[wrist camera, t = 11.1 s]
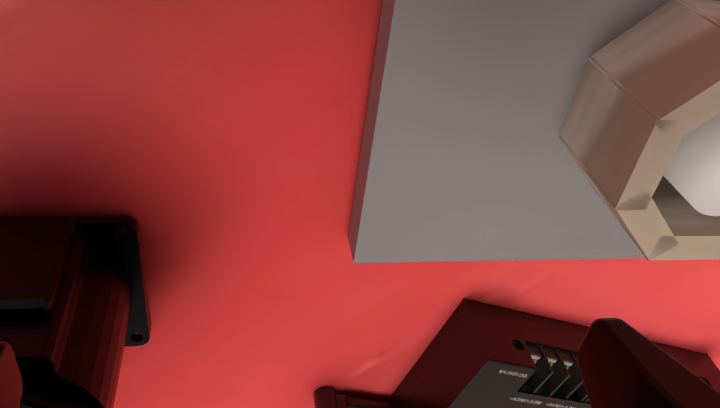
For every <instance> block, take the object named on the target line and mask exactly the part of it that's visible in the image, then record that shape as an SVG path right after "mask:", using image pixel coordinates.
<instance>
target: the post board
mask: <svg viewBox="0 0 720 408" xmlns="http://www.w3.org/2000/svg"><path fill="white" fill-rule="evenodd" d="M668 1H670V0H382V7H381V14H380V21H379V28H378V35H377V41H376V48H375V55H374V62H373V69H372V76H371V83H370V89H369V96H368V103H367V110H366V117H365V124H364V131H363V137H362V144H361V151H360V158H359V165H358V172H357V179H356V185H355V192H354V199H353V206H352V213H351V220H350V226H349V233H348V239H349V244H350V249H351V253H352V258H353V262H354V263H379V262H438V261H497V260H556V259H616V258H646V257H645V256H644V255H643V253H642V252H641V251H640V250H639V248H638V247H637V246H636V244H635V243H634V242H633V240H632V239H631V238H630V236H629V235H628V234H627V233H626V231H625V230H624V229H623V227H622V226H621V225H620V223H619V222H618V221H617V220H616V218H615V217H614V216H613V214H612V213H611V212H610V210H609V209H608V208H607V206H606V205H605V204H604V203H603V201H602V200H601V199H600V197H599V196H598V195H597V193H596V192H595V191H594V190H593V188H592V187H591V184H590V182H589V181H588V179H587V178H586V176H585V175H584V173H583V172H582V170H581V169H580V167H579V166H578V164H577V163H576V161H575V160H574V158H573V157H572V155H571V154H570V152H569V151H568V149H567V148H566V147H565V145H564V144H563V143H562V142H561V140H560V139H559V135H560V133H561V131H562V128H563V125H564V123H565V120H566V117H567V115H568V112H569V109H570V107H571V104H572V101H573V99H574V96H575V93H576V91H577V88H578V85H579V83H580V80H581V77H582V74H583V72H584V69H585V66H586V64H587V61H588V57H589V56H591V55H593V54H594V53H596V52H597V51H598V50H600V49H601V48H603V47H604V46H606V45H607V44H608V43H610V42H611V41H613V40H614V39H616V38H617V37H618V36H620V35H621V34H623V33H624V32H626V31H627V30H628V29H630V28H631V27H633V26H634V25H636V24H637V23H638V22H640V21H641V20H643V19H644V18H645V17H647V16H648V15H650V14H651V13H653V12H654V11H655V10H657V9H658V8H660V7H661V6H663V5H664V4H665V3H667V2H668ZM715 1H720V0H715ZM663 176H664V177H665V178H666V179H667V180H668V181H669V182H670V183H671V184H672V185H673V187H674V188H675V189H676V190H677V191H678V192H679V193H680V194H681V195H682V196H683V197H684V198H685V199H686V200H687V201H688V202H689V203H690V205H691V206H692V207H693V208H694V209H695V210H697V211H698V212H700V213H702V214H705V215H709V216H720V113H719V114H717V115H716V116H714V117H713V118H711V119H710V120H708V121H706V122H705V123H703V124H702V125H700V126H698V127H697V128H695V129H694V130H692V131H691V132H689V133H687V134H686V135H684V136H683V138H682V139H681V141H680V143H679V145H678V147H677V149H676V151H675V153H674V155H673V157H672V159H671V161H670V163H669V165H668V167H667V169H666V171H665V173H664V175H663Z"/></svg>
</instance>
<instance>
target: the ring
mask: <svg viewBox="0 0 720 408" xmlns="http://www.w3.org/2000/svg"><path fill="white" fill-rule="evenodd" d="M719 113H720V1H715V0H670V1H668V2H667V3H665V4H664V5H663V6H661V7H660V8H658V9H657V10H655V11H654V12H653V13H651V14H650V15H648V16H647V17H645V18H644V19H643V20H641V21H640V22H638V23H637V24H636V25H634V26H633V27H631V28H630V29H628V30H627V31H626V32H624V33H623V34H621V35H620V36H618V37H617V38H616V39H614V40H613V41H611V42H610V43H608V44H607V45H606V46H604V47H603V48H601V49H600V50H598V51H597V52H596V53H594V54H593V55H591V56H589V57H588V61H587V64H586V66H585V69H584V72H583V74H582V77H581V80H580V83H579V85H578V88H577V91H576V93H575V96H574V99H573V101H572V104H571V107H570V109H569V112H568V115H567V117H566V120H565V123H564V125H563V128H562V131H561V133H560V135H559V139H560V140H561V142H562V143H563V144H564V145H565V147H566V148H567V149H568V151H569V152H570V154H571V155H572V157H573V158H574V160H575V161H576V163H577V164H578V166H579V167H580V169H581V170H582V172H583V173H584V175H585V176H586V178H587V179H588V181H589V182H590V184H591V187H592V188H593V190H594V191H595V192H596V193H597V195H598V196H599V197H600V199H601V200H602V201H603V203H604V204H605V205H606V206H607V208H608V209H609V210H610V212H611V213H612V214H613V216H614V217H615V218H616V220H617V221H618V222H619V223H620V225H621V226H622V227H623V229H624V230H625V231H626V233H627V234H628V235H629V236H630V238H631V239H632V240H633V242H634V243H635V244H636V246H637V247H638V248H639V250H640V251H641V252H642V253H643V255H644V256H645V257H646V259H647V260H649V261H651V260H709V259H720V216H709V215H705V214H702V213H700V212H698V211H697V210H695V209H694V208H693V207H692V206H691V205H690V203H689V202H688V201H687V200H686V199H685V198H684V197H683V196H682V195H681V194H680V193H679V192H678V191H677V190H676V189H675V188H674V187H673V185H672V184H671V183H670V182H669V181H668V180H667V179H666V178H665V177H664V176H663V175H664V173H665V171H666V169H667V167H668V165H669V163H670V161H671V159H672V157H673V155H674V153H675V151H676V149H677V147H678V145H679V143H680V141H681V139H682V138H683V136H684V135H686V134H687V133H689V132H691V131H692V130H694V129H695V128H697V127H698V126H700V125H702V124H703V123H705V122H706V121H708V120H710V119H711V118H713V117H714V116H716V115H717V114H719Z"/></svg>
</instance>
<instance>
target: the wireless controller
mask: <svg viewBox="0 0 720 408" xmlns="http://www.w3.org/2000/svg"><path fill="white" fill-rule="evenodd" d="M457 308H458V309H456V310H455V311H454V312H453V314H452V315H451V316H450V318H449V319H448V320H447V322H446V323H445V324H444V326H443V327H442V328H441V330H440V331H439V332H438V334H437V335H436V336H435V338H434V339H433V340H432V342H431V343H430V344H429V346H428V347H427V348H426V350H425V351H424V353H423V354H422V355H421V357H420V358H419V359H418V361H417V362H416V363H415V365H414V366H413V367H412V369H411V370H410V371H409V373H408V374H407V375H406V377H405V378H404V379H403V381H402V382H401V383H400V385H399V386H398V387H397V389H396V390H395V391H394V393H393V394H392V395H391V399H390V401H389V402H384V401H378V400H371V399H364V398H357V397H350V396H346V395H341V394H335V391H334V388H333V387H330V386H323V387H320V388H318V389H316V390H315V391H314V394H313V395H314V404H315V408H591V405H590V402H589V399H588V395H587V392H586V389H585V385H584V382H583V378H582V375H581V372H580V368H579V365H578V359H577V358H578V350H579V347H580V345H581V343H582V341H583V339H584V337H585V335H586V334H587V332H588V330H589V328H590V327H586V326H582V325H578V324H573V323H569V322H565V321H560V320H556V319H552V318H547V317H543V316H539V315H534V314H530V313H526V312H521V311H517V310H512V309H508V308H504V307H499V306H495V305H491V304H486V303H482V302H478V301H473V300H469V299H465V298H464V299H463V300H462V302H461V303H460V304H459V306H458V307H457ZM652 343H654V344H655V345H656V346H658V347H659V348H660V349H662V350H663V351H664V352H666V353H667V354H668V355H670V356H671V357H672V358H674V359H675V360H676V361H678V362H679V363H680V364H682V365H683V366H684V367H686V368H687V369H688V370H690V371H691V372H692V373H694V374H695V375H696V376H698V377H699V378H700V379H702V380H703V381H704V382H706V383H707V384H708V385H710V386H711V387H712V388H714V389H715V390H716V391H718V392H719V393H720V371H719V369H718V368H717V367H716V365H715V364H714V363H713V361H712V360H711V358H710V357H709V356H708V354H704V353H699V352H695V351H691V350H686V349H682V348H677V347H673V346H669V345H664V344H660V343H656V342H652Z"/></svg>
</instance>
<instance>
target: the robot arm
mask: <svg viewBox="0 0 720 408" xmlns="http://www.w3.org/2000/svg"><path fill="white" fill-rule="evenodd" d="M119 228H124V229H127V230H128V231H127V232H122V231H119V230H118V229H119ZM150 331H151V328H150V319H149V311H148V302H147V294H146V285H145V277H144V268H143V260H142V251H141V242H140V234H139V226H138V223H137V222H136V221H135V220H134V219H133V218H131V217H129V216H0V408H113V407H114V401H115V396H116V390H117V384H118V379H119V373H120V368H121V362H122V356H123V351H124V346H140V345H144V344H146V343H147V342H148V341H149V338H150ZM135 333H137V334H135ZM577 359H578V365H579V368H580V372H581V375H582V378H583V382H584V385H585V389H586V392H587V395H588V399H589V402H590V405H591V408H720V393H719V392H718V391H716V390H715V389H714V388H712V387H711V386H710V385H708V384H707V383H706V382H704V381H703V380H702V379H700V378H699V377H698V376H696V375H695V374H694V373H692V372H691V371H690V370H688V369H687V368H686V367H684V366H683V365H682V364H680V363H679V362H678V361H676V360H675V359H674V358H672V357H671V356H670V355H668V354H667V353H666V352H664V351H663V350H662V349H660V348H659V347H658V346H656V345H655V344H654V343H652V342H651V341H650V340H648V339H647V338H646V337H644V336H643V335H642V334H640V333H639V332H638V331H636V330H635V329H634V328H632V327H631V326H630V325H628V324H627V323H626V322H624V321H623V320H621V319H618V318H600V319H596V320H595V321H593V322H592V324H591V326H590V328H589V330H588V332H587V334H586V335H585V337H584V339H583V341H582V343H581V345H580V347H579V350H578V358H577Z"/></svg>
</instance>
